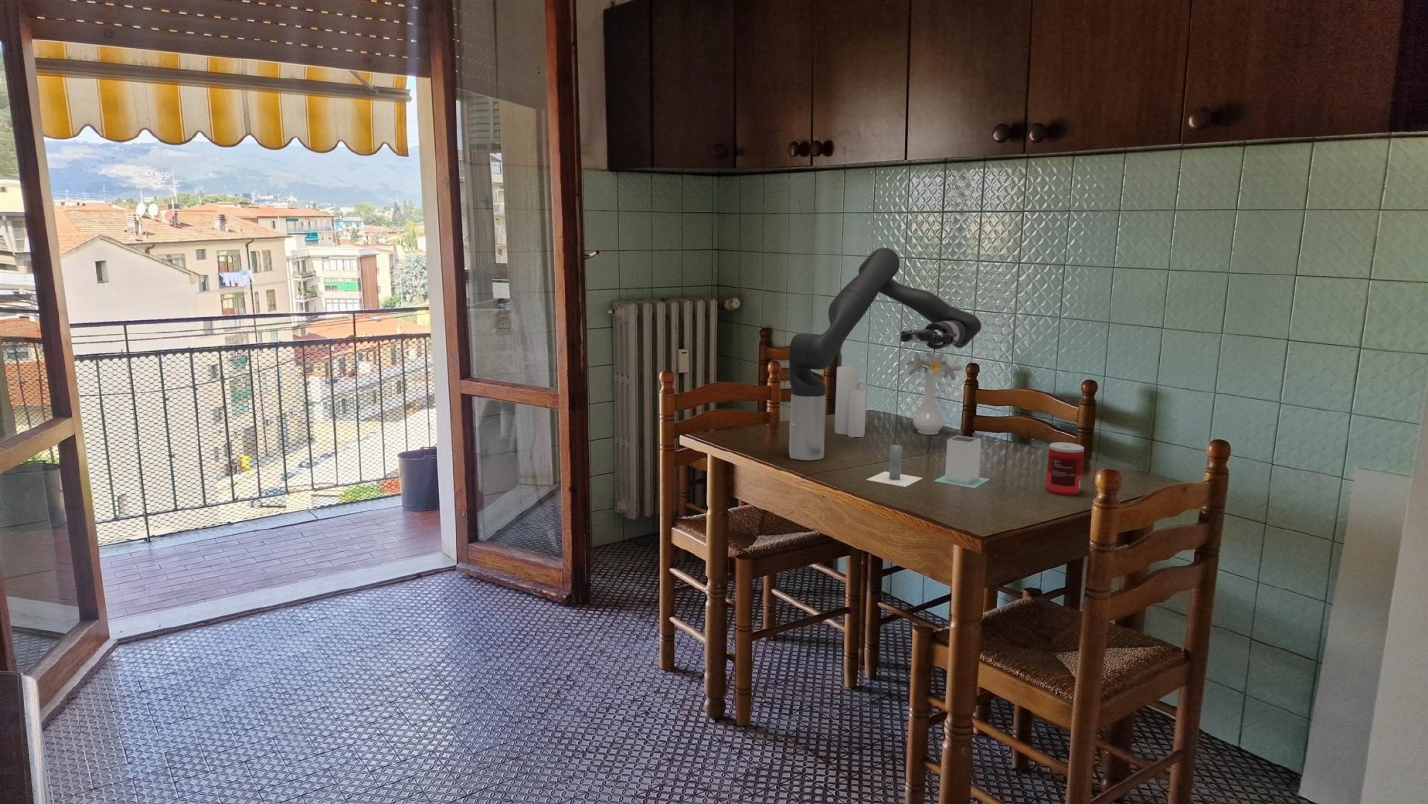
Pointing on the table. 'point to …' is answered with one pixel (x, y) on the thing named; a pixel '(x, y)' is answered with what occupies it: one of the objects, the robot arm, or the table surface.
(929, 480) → the table surface
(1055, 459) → the canned food
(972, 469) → the white sleeve
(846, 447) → the table surface
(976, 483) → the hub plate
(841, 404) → the white joined cylinders
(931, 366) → the flower vase
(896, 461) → the stand
